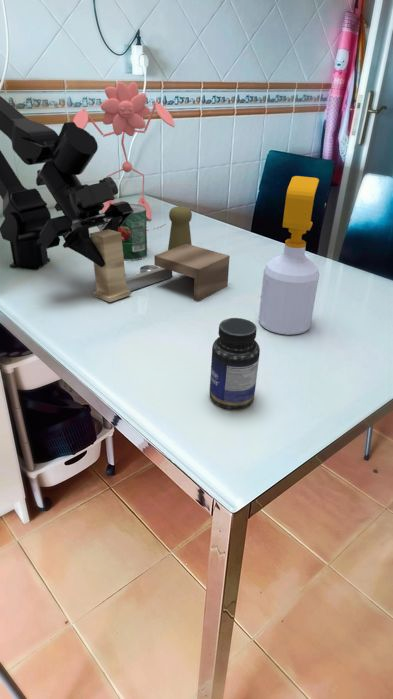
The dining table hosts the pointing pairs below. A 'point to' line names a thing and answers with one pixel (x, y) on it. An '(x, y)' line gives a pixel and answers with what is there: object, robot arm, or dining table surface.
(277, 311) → the soap bottle
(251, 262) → the dining table surface
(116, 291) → the blade tool
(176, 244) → the olive pawn figure
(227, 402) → the pill bottle
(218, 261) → the plinth
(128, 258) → the canned tomato
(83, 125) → the pink daisy figurine
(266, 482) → the dining table surface
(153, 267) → the steel token
